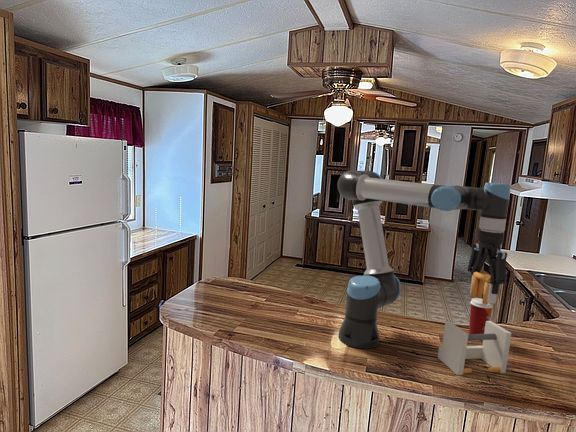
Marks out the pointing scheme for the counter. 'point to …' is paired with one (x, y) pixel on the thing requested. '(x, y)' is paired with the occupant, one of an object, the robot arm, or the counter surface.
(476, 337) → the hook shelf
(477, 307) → the coffee cup
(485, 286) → the cord hank
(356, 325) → the robot arm
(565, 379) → the counter surface
